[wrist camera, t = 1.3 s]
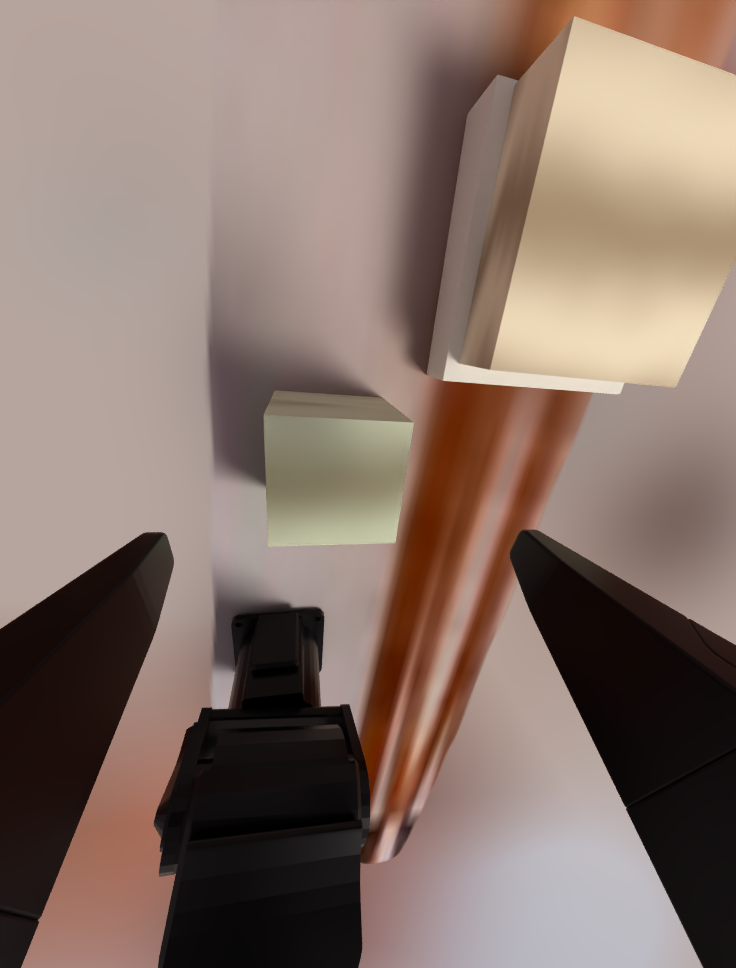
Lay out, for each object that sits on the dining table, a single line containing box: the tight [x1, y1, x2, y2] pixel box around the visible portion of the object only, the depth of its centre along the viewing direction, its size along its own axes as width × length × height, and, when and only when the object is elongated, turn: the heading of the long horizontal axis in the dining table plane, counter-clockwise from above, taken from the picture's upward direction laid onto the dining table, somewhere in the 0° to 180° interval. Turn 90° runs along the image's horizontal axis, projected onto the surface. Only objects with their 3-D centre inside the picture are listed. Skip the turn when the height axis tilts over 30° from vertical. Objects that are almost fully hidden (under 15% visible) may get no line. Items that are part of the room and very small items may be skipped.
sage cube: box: [263, 390, 414, 547], centre depth 17 cm, size 6×6×6 cm
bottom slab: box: [427, 75, 624, 394], centre depth 17 cm, size 11×11×3 cm
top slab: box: [459, 16, 736, 387], centre depth 14 cm, size 10×10×3 cm
